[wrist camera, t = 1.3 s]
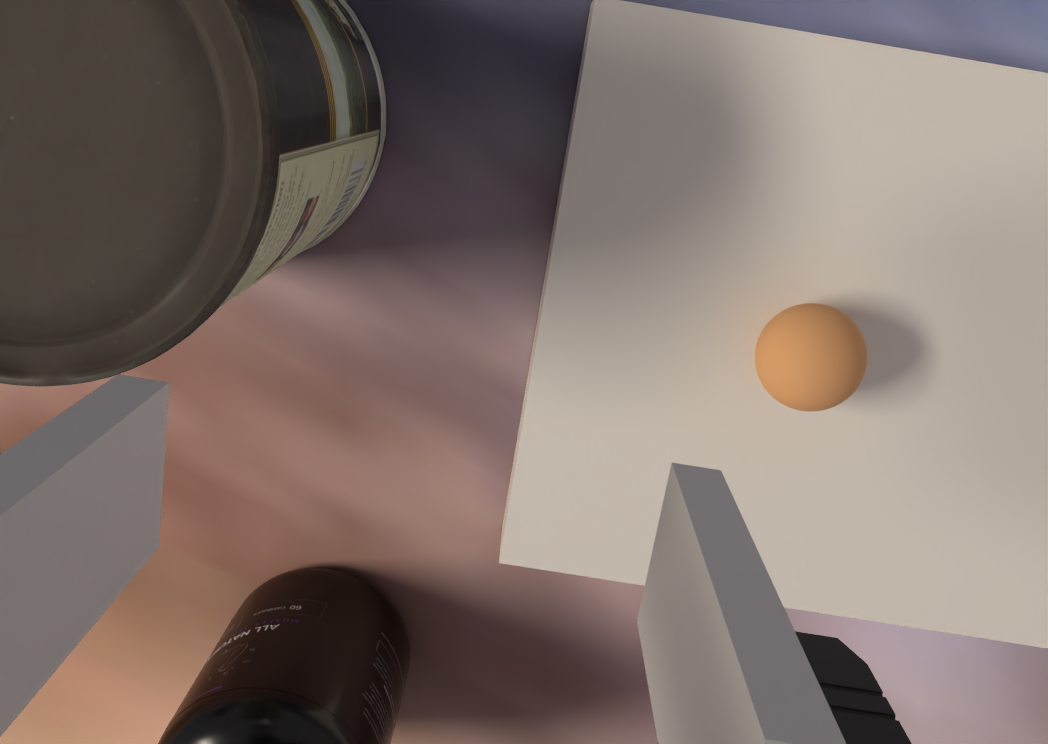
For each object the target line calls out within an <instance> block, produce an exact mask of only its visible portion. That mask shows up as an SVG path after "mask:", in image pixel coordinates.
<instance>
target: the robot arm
mask: <svg viewBox="0 0 1048 744" xmlns="http://www.w3.org/2000/svg"><path fill="white" fill-rule="evenodd" d="M168 395H169V382H164V381H157V380H151V379H145V378H138V377H132V376H126V375H120V374H118V375H117V376H115V377H114V378H112V379H111V380H109V381H108V382H106V383H105V384H103V385H102V386H100V387H99V388H98V389H96V390H95V391H93V392H92V393H90V394H89V395H87V396H86V397H84V398H83V399H81V400H80V401H78V402H77V403H75V404H74V405H72V406H71V407H69V408H68V409H67V410H65V411H64V412H62V413H61V414H59V415H58V416H56V417H55V418H53V419H52V420H50V421H49V422H47V423H46V424H44V425H43V426H41V427H40V428H38V429H37V430H36V431H34V432H33V433H31V434H30V435H28V436H27V437H25V438H24V439H22V440H21V441H19V442H18V443H16V444H15V445H13V446H12V447H10V448H9V449H7V450H6V451H4V452H3V453H2V454H0V736H1V735H2V734H3V733H4V732H5V731H6V729H7V728H8V727H9V726H10V725H11V723H12V722H13V721H14V720H15V719H16V717H17V716H18V715H19V714H20V713H21V711H22V710H23V709H24V708H25V707H26V705H27V704H28V703H29V702H30V701H31V699H32V698H33V697H34V696H35V695H36V693H37V692H38V691H39V690H40V689H41V687H42V686H43V685H44V684H45V683H46V681H47V680H48V679H49V678H50V677H51V676H52V674H53V673H54V672H55V671H56V670H57V668H58V667H59V666H60V665H61V664H62V662H63V661H64V660H65V659H66V658H67V656H68V655H69V654H70V653H71V652H72V650H73V649H74V648H75V647H76V646H77V644H78V643H79V642H80V641H81V640H82V638H83V637H84V636H85V635H86V634H87V632H88V631H89V630H90V629H91V628H92V626H93V625H94V624H95V623H96V622H97V621H98V619H99V618H100V617H101V616H102V615H103V613H104V612H105V611H106V610H107V609H108V607H109V606H110V605H111V604H112V603H113V601H114V600H115V599H116V598H117V597H118V595H119V594H120V593H121V592H122V591H123V589H124V588H125V587H126V586H127V585H128V583H129V582H130V581H131V580H132V579H133V577H134V576H135V575H136V574H137V573H138V571H139V570H140V569H141V568H142V567H143V566H144V564H145V563H146V562H147V561H148V560H149V558H150V557H151V556H152V555H153V554H154V552H155V551H156V550H157V549H158V548H159V536H160V521H161V505H162V489H163V474H164V458H165V442H166V426H167V411H168ZM637 624H638V630H639V636H640V642H641V648H642V653H643V659H644V665H645V671H646V677H647V682H648V688H649V694H650V700H651V706H652V711H653V717H654V723H655V729H656V735H657V741H658V744H911V742H910V740H909V738H908V737H907V735H906V733H905V731H904V729H903V728H902V726H901V724H900V722H899V721H897V720H895V713H894V711H893V710H892V708H891V706H890V704H889V702H888V701H887V699H886V697H882V693H883V692H882V690H881V688H880V686H879V685H878V683H877V681H876V679H875V677H874V676H873V674H872V672H871V670H870V668H869V667H868V665H867V664H866V663H865V662H864V661H863V660H862V659H861V658H859V657H858V656H857V655H856V654H855V653H854V652H853V651H852V650H850V649H849V648H848V647H847V646H846V645H845V644H844V643H842V642H841V641H840V640H839V639H838V638H833V637H827V636H820V635H814V634H807V633H801V632H795V631H794V628H793V626H792V624H791V622H790V620H789V618H788V615H787V613H786V611H785V609H784V607H783V604H782V602H781V600H780V598H779V596H778V594H777V591H776V589H775V587H774V585H773V583H772V580H771V578H770V576H769V574H768V572H767V570H766V567H765V565H764V563H763V561H762V559H761V556H760V554H759V552H758V550H757V548H756V546H755V543H754V541H753V539H752V537H751V535H750V532H749V530H748V528H747V526H746V524H745V522H744V519H743V517H742V515H741V513H740V511H739V508H738V506H737V504H736V502H735V500H734V498H733V495H732V493H731V491H730V489H729V487H728V484H727V482H726V480H725V478H724V476H723V474H722V471H721V470H716V469H709V468H703V467H697V466H691V465H684V464H678V463H671V468H670V472H669V477H668V482H667V486H666V491H665V495H664V500H663V504H662V509H661V514H660V518H659V523H658V527H657V532H656V537H655V541H654V546H653V550H652V555H651V559H650V564H649V569H648V573H647V578H646V582H645V587H644V592H643V596H642V601H641V605H640V610H639V614H638V619H637Z"/></svg>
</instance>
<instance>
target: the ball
mask: <svg viewBox="0 0 1048 744" xmlns="http://www.w3.org/2000/svg"><path fill="white" fill-rule="evenodd" d="M867 357H868V356H867V347H866V343H865V340H864V338H863V335H862V333H861V331H860V329H859V328H858V327H857V325H856V324H855V323H854V322H853V321H852V320H851V319H850V318H849V317H848V316H847V315H846V314H844V313H843V312H841V311H839V310H837V309H836V308H833V307H831V306H828V305H823V304H816V303H805V304H799V305H795V306H792V307H789V308H787V309H785V310H783V311H782V312H780V313H778V314H777V315H776V316H774V317H773V318H772V319H771V320H770V321H769V322H768V323H767V325H766V326H765V327H764V329H763V330H762V332H761V334H760V336H759V338H758V341H757V344H756V349H755V367H756V371H757V374H758V377H759V379H760V381H761V383H762V385H763V387H764V388H765V389H766V391H767V392H768V393H769V394H770V395H771V396H772V397H773V398H774V399H775V400H777V401H778V402H780V403H781V404H783V405H785V406H787V407H790V408H793V409H796V410H800V411H822V410H826V409H830V408H832V407H835V406H837V405H839V404H840V403H842V402H844V401H845V400H846V399H848V398H849V397H850V396H851V395H852V394H853V393H854V392H855V391H856V389H857V388H858V386H859V385H860V383H861V381H862V379H863V377H864V374H865V372H866V367H867Z"/></svg>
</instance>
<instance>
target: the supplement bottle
mask: <svg viewBox="0 0 1048 744" xmlns="http://www.w3.org/2000/svg"><path fill="white" fill-rule="evenodd" d="M409 661H410V648H409V641H408V636H407V633H406V630H405V627H404V624H403V622H402V620H401V618H400V616H399V614H398V613H397V611H396V610H395V608H394V607H393V605H392V604H391V603H390V602H389V601H388V600H387V599H386V597H384V596H383V595H382V594H381V593H380V592H379V591H378V590H377V589H375V588H374V587H373V586H371V585H370V584H368V583H366V582H365V581H363V580H361V579H359V578H357V577H355V576H352V575H350V574H347V573H344V572H340V571H336V570H331V569H322V568H307V569H299V570H294V571H289V572H286V573H283V574H280V575H278V576H276V577H274V578H272V579H270V580H268V581H267V582H265V583H263V584H262V585H261V586H259V587H258V588H257V589H256V590H254V591H253V592H252V593H251V594H250V595H249V596H248V598H247V599H246V600H245V601H244V602H243V604H242V605H241V607H240V608H239V609H238V611H237V613H236V614H235V616H234V617H233V619H232V620H231V622H230V624H229V625H228V627H227V629H226V630H225V632H224V634H223V635H222V637H221V638H220V640H219V642H218V643H217V645H216V647H215V648H214V650H213V652H212V653H211V655H210V657H209V658H208V660H207V662H206V663H205V665H204V667H203V668H202V670H201V672H200V673H199V675H198V677H197V678H196V680H195V682H194V683H193V685H192V687H191V688H190V690H189V692H188V693H187V695H186V697H185V698H184V700H183V702H182V703H181V705H180V706H179V708H178V710H177V711H176V713H175V715H174V716H173V718H172V720H171V721H170V723H169V725H168V726H167V728H166V730H165V732H164V733H163V735H162V737H161V739H160V741H159V743H158V744H390V743H391V739H392V735H393V731H394V727H395V723H396V720H397V716H398V712H399V708H400V704H401V700H402V696H403V692H404V688H405V683H406V678H407V674H408V670H409Z"/></svg>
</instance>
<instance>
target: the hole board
mask: <svg viewBox="0 0 1048 744" xmlns="http://www.w3.org/2000/svg"><path fill="white" fill-rule="evenodd" d="M805 303H816V304H823V305H828V306H831V307H833V308H836V309H837V310H839V311H841V312H843V313H844V314H846V315H847V316H848V317H849V318H850V319H851V320H852V321H853V322H854V323H855V324H856V325H857V327H858V328H859V329H860V331H861V333H862V335H863V338H864V340H865V343H866V347H867V356H868V357H867V367H866V372H865V374H864V377H863V379H862V381H861V383H860V385H859V386H858V388H857V389H856V391H855V392H854V393H853V394H852V395H851V396H850V397H849V398H848V399H846V400H845V401H844V402H842V403H840V404H839V405H837V406H835V407H832V408H830V409H826V410H822V411H800V410H796V409H793V408H790V407H787V406H785V405H783V404H781V403H780V402H778V401H777V400H775V399H774V398H773V397H772V396H771V395H770V394H769V393H768V392H767V391H766V389H765V388H764V387H763V385H762V383H761V381H760V379H759V377H758V374H757V371H756V367H755V349H756V344H757V341H758V338H759V336H760V334H761V332H762V330H763V329H764V327H765V326H766V325H767V323H768V322H769V321H770V320H771V319H772V318H773V317H774V316H776V315H777V314H778V313H780V312H782V311H783V310H785V309H787V308H789V307H792V306H795V305H799V304H805ZM671 463H678V464H684V465H691V466H697V467H703V468H709V469H716V470H721V471H722V474H723V476H724V478H725V480H726V482H727V484H728V487H729V489H730V491H731V493H732V495H733V498H734V500H735V502H736V504H737V506H738V508H739V511H740V513H741V515H742V517H743V519H744V522H745V524H746V526H747V528H748V530H749V532H750V535H751V537H752V539H753V541H754V543H755V546H756V548H757V550H758V552H759V554H760V556H761V559H762V561H763V563H764V565H765V567H766V570H767V572H768V574H769V576H770V578H771V580H772V583H773V585H774V587H775V589H776V591H777V594H778V596H779V598H780V600H781V602H782V604H783V607H785V608H791V609H798V610H804V611H811V612H817V613H824V614H830V615H836V616H843V617H849V618H856V619H862V620H869V621H875V622H881V623H888V624H894V625H901V626H907V627H914V628H920V629H926V630H933V631H939V632H946V633H952V634H959V635H965V636H971V637H978V638H984V639H991V640H997V641H1004V642H1010V643H1016V644H1023V645H1029V646H1036V647H1042V648H1048V73H1044V72H1038V71H1033V70H1027V69H1021V68H1015V67H1009V66H1003V65H997V64H992V63H986V62H980V61H974V60H968V59H962V58H956V57H950V56H945V55H939V54H933V53H927V52H921V51H915V50H909V49H904V48H898V47H892V46H886V45H880V44H874V43H868V42H863V41H857V40H851V39H845V38H839V37H833V36H827V35H821V34H816V33H810V32H804V31H798V30H792V29H786V28H780V27H775V26H769V25H763V24H757V23H751V22H745V21H739V20H734V19H728V18H722V17H716V16H710V15H704V14H698V13H692V12H687V11H681V10H675V9H669V8H663V7H657V6H651V5H646V4H640V3H634V2H628V1H622V0H593V1H592V3H591V6H590V12H589V18H588V23H587V29H586V35H585V41H584V47H583V53H582V59H581V65H580V71H579V77H578V82H577V88H576V94H575V100H574V106H573V112H572V118H571V124H570V130H569V136H568V142H567V147H566V153H565V159H564V165H563V171H562V177H561V183H560V189H559V195H558V201H557V206H556V212H555V218H554V224H553V230H552V236H551V242H550V248H549V254H548V260H547V266H546V271H545V277H544V283H543V289H542V295H541V301H540V307H539V313H538V319H537V325H536V330H535V336H534V342H533V348H532V354H531V360H530V366H529V372H528V378H527V384H526V390H525V395H524V401H523V407H522V413H521V419H520V425H519V431H518V437H517V443H516V449H515V454H514V460H513V466H512V472H511V478H510V484H509V490H508V496H507V502H506V508H505V514H504V519H503V526H502V536H501V547H500V557H499V563H502V564H509V565H515V566H521V567H528V568H534V569H541V570H547V571H554V572H560V573H566V574H573V575H579V576H586V577H592V578H599V579H605V580H611V581H618V582H624V583H631V584H637V585H644V586H645V582H646V578H647V573H648V569H649V564H650V559H651V555H652V550H653V546H654V541H655V537H656V532H657V527H658V523H659V518H660V514H661V509H662V504H663V500H664V495H665V491H666V486H667V482H668V477H669V472H670V468H671Z"/></svg>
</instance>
